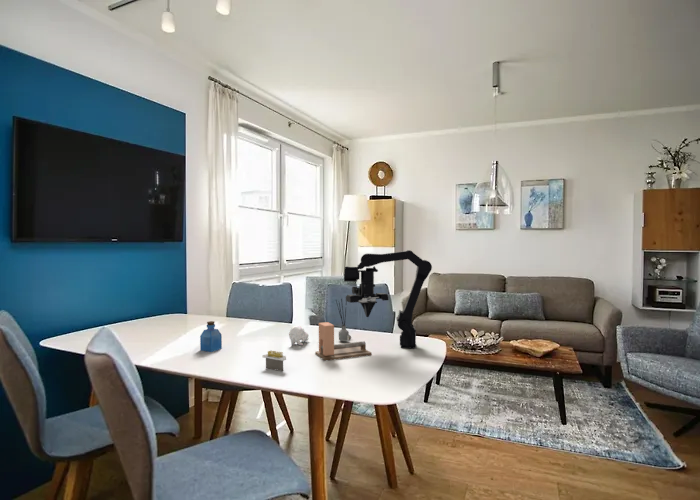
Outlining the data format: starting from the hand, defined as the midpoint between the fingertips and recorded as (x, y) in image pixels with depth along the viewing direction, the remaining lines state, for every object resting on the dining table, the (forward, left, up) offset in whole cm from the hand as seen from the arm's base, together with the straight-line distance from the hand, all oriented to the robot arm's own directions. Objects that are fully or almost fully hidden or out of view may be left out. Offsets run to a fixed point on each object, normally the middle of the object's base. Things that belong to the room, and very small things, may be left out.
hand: (367, 316), depth 187 cm
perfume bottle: (+66, +17, -13) cm, 69 cm away
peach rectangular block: (+14, +20, -12) cm, 27 cm away
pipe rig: (+8, +16, -13) cm, 22 cm away
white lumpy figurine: (+31, 0, -13) cm, 34 cm away
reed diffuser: (+13, -8, -13) cm, 20 cm away
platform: (+28, +38, -14) cm, 50 cm away
